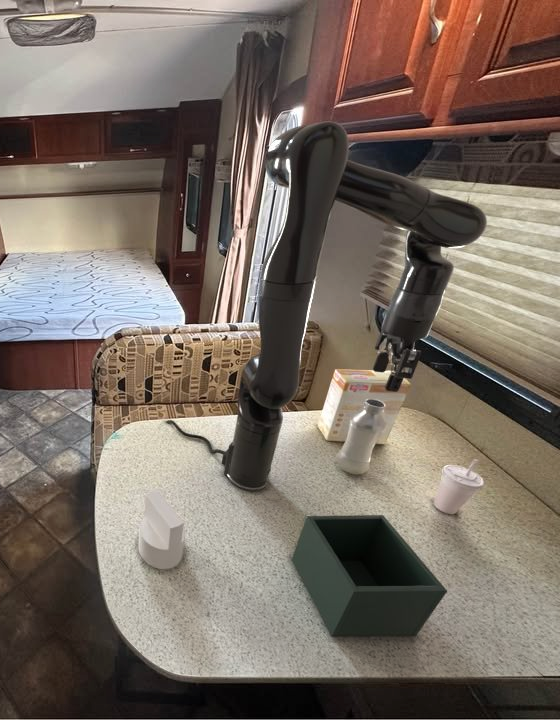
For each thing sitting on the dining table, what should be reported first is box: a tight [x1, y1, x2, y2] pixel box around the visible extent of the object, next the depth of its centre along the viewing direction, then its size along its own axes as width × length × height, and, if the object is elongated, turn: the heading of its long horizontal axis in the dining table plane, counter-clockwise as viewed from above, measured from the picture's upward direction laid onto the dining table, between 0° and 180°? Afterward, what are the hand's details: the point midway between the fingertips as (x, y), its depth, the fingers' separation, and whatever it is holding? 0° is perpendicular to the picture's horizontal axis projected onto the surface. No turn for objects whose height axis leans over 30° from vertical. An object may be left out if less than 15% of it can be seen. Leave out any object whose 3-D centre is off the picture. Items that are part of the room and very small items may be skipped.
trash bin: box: [291, 514, 448, 638], centre depth 64 cm, size 14×14×13 cm
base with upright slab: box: [138, 489, 186, 570], centre depth 74 cm, size 9×9×12 cm
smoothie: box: [433, 458, 485, 515], centre depth 79 cm, size 6×6×14 cm
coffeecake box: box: [317, 368, 412, 445], centre depth 100 cm, size 15×7×20 cm, turn 80°
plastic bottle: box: [336, 399, 385, 475], centre depth 89 cm, size 6×7×20 cm
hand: (384, 380), depth 82 cm, fingers open, 8 cm apart
